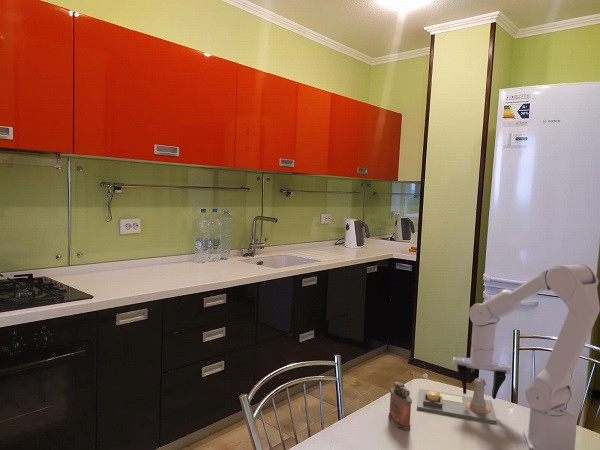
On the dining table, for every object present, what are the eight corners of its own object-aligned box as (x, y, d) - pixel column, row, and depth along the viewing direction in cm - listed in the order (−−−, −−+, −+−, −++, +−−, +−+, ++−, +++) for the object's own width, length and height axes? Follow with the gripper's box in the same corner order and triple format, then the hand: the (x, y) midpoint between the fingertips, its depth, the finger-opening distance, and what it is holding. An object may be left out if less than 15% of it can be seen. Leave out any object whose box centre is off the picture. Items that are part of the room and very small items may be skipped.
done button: (438, 397, 124) (439, 392, 123) (438, 402, 120) (439, 397, 120) (427, 395, 125) (427, 390, 124) (426, 400, 121) (427, 395, 121)
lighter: (385, 415, 116) (387, 378, 115) (396, 414, 117) (399, 377, 116) (401, 431, 108) (403, 392, 108) (413, 429, 109) (415, 391, 109)
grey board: (491, 403, 125) (491, 396, 125) (496, 423, 114) (496, 416, 114) (419, 391, 131) (419, 384, 131) (416, 409, 120) (417, 402, 120)
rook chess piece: (488, 412, 118) (490, 384, 117) (471, 411, 118) (473, 382, 118) (483, 404, 122) (485, 377, 122) (467, 403, 123) (469, 375, 122)
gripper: (509, 345, 121) (505, 393, 122) (454, 338, 126) (450, 384, 127) (513, 354, 115) (509, 404, 116) (454, 346, 119) (451, 394, 120)
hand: (479, 394), depth 121 cm, fingers open, 7 cm apart
